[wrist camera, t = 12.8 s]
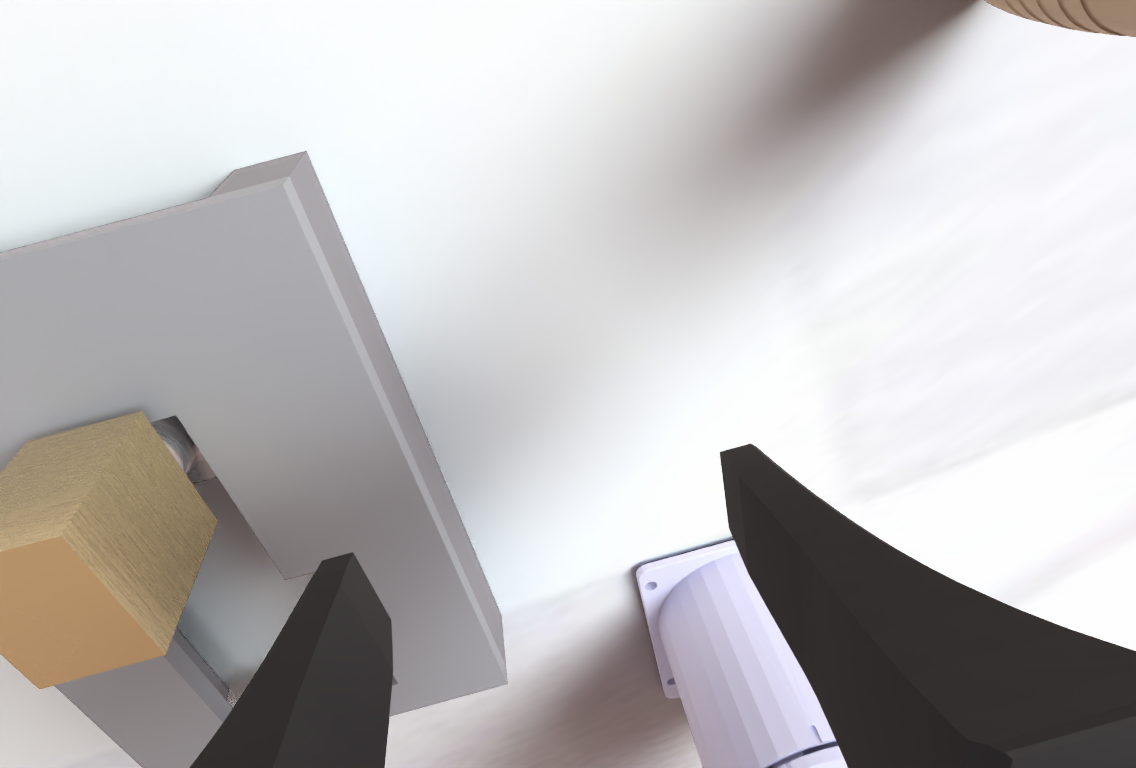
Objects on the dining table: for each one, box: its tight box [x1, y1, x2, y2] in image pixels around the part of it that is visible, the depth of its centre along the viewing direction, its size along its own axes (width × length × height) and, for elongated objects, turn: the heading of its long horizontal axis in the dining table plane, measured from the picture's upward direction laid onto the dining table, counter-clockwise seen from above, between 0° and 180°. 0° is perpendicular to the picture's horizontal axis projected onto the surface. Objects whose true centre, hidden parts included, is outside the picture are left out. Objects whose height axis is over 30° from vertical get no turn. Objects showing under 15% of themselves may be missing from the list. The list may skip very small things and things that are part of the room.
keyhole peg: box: [0, 411, 218, 689], centre depth 18 cm, size 5×5×8 cm
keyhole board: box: [0, 151, 508, 768], centre depth 23 cm, size 20×14×3 cm
